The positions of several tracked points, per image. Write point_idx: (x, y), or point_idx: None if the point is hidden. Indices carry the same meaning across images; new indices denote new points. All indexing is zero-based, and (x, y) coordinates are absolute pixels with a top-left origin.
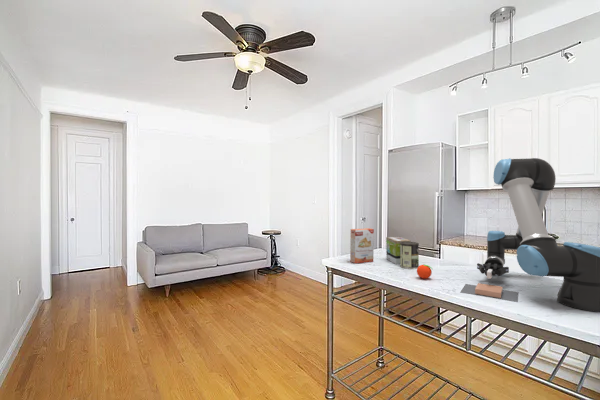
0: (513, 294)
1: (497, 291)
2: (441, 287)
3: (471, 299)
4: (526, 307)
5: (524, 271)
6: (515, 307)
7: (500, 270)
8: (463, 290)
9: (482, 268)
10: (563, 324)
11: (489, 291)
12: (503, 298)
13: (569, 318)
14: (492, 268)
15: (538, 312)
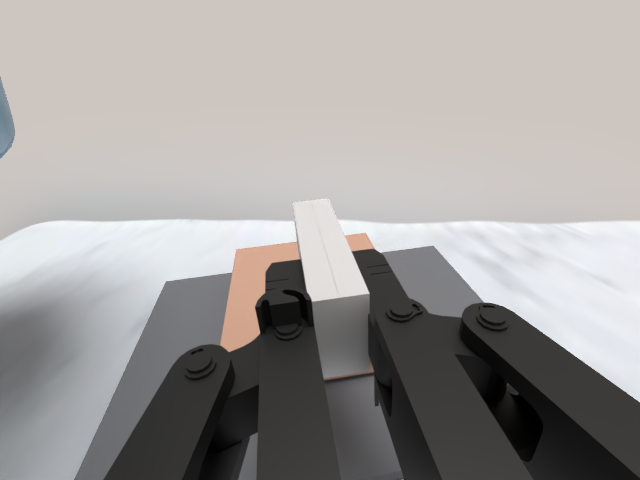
0: (147, 396)
1: (253, 257)
2: (576, 268)
3: (354, 230)
4: (143, 270)
5: (7, 144)
6: (191, 250)
7: (175, 366)
8: (444, 272)
9: (479, 308)
10: (83, 225)
11: (293, 243)
12: (229, 285)
13: (18, 265)
14: (312, 310)
15: (115, 255)
